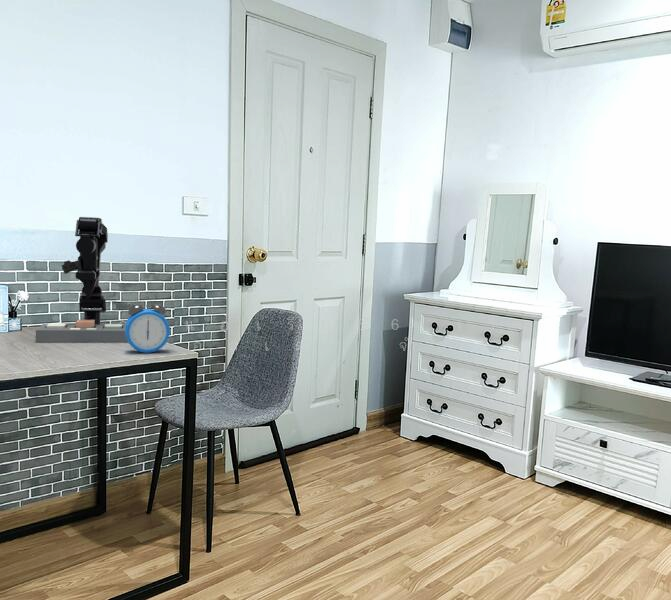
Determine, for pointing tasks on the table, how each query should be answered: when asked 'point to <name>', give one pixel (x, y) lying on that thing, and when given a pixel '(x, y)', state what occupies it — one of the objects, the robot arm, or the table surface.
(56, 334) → the console
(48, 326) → the cream key
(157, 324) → the alarm clock
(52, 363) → the table surface
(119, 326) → the sage key
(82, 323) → the terracotta key
